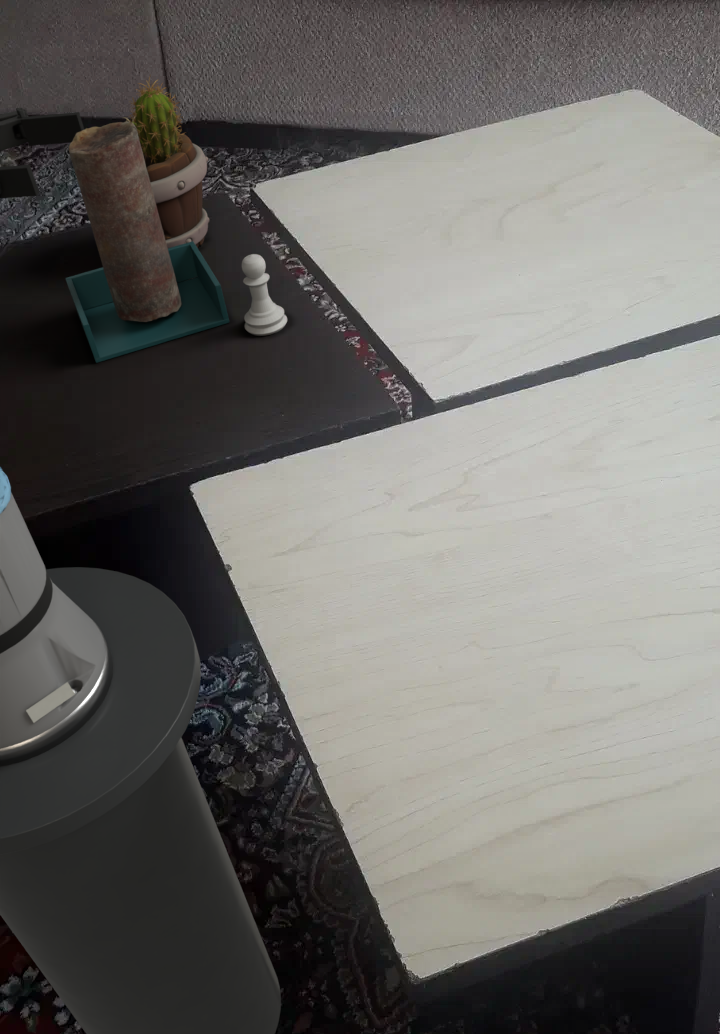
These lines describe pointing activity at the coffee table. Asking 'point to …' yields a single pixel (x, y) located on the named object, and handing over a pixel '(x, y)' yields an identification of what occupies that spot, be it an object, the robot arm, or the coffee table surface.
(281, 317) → the chess piece
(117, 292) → the rusty brown cylinder
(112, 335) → the teal tray
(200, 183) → the flowerpot
